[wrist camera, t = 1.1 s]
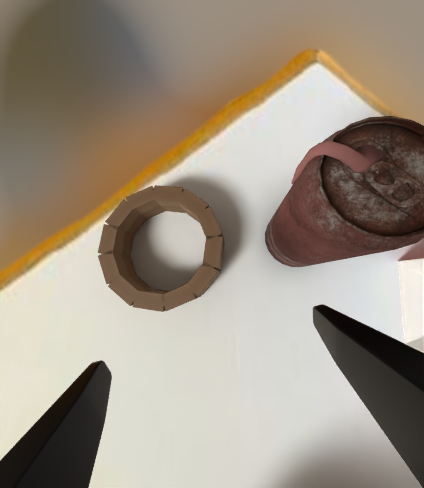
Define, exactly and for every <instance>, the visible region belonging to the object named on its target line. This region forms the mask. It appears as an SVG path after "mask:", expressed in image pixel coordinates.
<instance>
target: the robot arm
mask: <svg viewBox="0 0 424 488" xmlns="http://www.w3.org/2000/svg"><path fill="white" fill-rule="evenodd" d="M313 322H314V326H315V328H316V329H317V331H318V333H319V335H320V336H321V338H322V340H323V342H324V344H325V345H326V347H327V349H328V351H329V352H330V354H331V356H332V358H333V359H334V361H335V363H336V364H337V366H338V367H339V369H340V370H341V371H342V373H343V374H344V376H345V377H346V379H347V380H348V381H349V383H350V384H351V386H352V387H353V389H354V390H355V391H356V393H357V394H358V396H359V397H360V399H361V400H362V401H363V403H364V404H365V406H366V407H367V409H368V410H369V411H370V413H371V414H372V416H373V417H374V419H375V420H376V421H377V423H378V424H379V426H380V427H381V429H382V430H383V431H384V433H385V434H386V436H387V437H388V439H389V440H390V441H391V443H392V444H393V446H394V447H395V449H396V450H397V451H398V453H399V454H400V456H401V457H402V459H403V460H404V461H405V463H406V464H407V466H408V467H409V469H410V470H411V471H412V473H413V474H414V476H415V477H416V479H417V480H418V481H419V483H420V484H421V486H422V487H423V488H424V353H423V352H421V351H419V350H417V349H415V348H412V347H410V346H408V345H406V344H404V343H402V342H400V341H398V340H396V339H394V338H392V337H390V336H388V335H386V334H384V333H381V332H379V331H377V330H375V329H373V328H371V327H369V326H367V325H365V324H363V323H361V322H359V321H357V320H355V319H353V318H350V317H348V316H346V315H344V314H342V313H340V312H338V311H336V310H334V309H332V308H330V307H328V306H326V305H318V306H314V307H313ZM111 379H112V376H111V372H110V370H109V369H108V367H107V366H106V364H105V362H104V361H97V362H93V363H91V364H90V365H89V366H88V367H87V368H86V369H85V371H84V372H83V373H82V374H81V375H80V376H79V377H78V378H77V379H76V380H75V381H74V382H73V383H72V384H71V386H70V387H69V388H68V389H67V390H66V391H65V392H64V393H63V394H62V395H61V396H60V397H59V398H58V399H57V401H56V402H55V403H54V404H53V405H52V406H51V407H50V408H49V409H48V410H47V411H46V412H45V413H44V414H43V416H42V417H41V418H40V419H39V420H38V421H37V422H36V423H35V424H34V425H33V426H32V427H31V428H30V429H29V431H28V432H27V433H26V434H25V435H24V436H23V437H22V438H21V439H20V440H19V441H18V442H17V443H16V444H15V446H14V447H13V448H12V449H11V450H10V451H9V452H8V453H7V454H6V455H5V456H4V457H3V458H2V459H1V461H0V488H88V487H89V483H90V479H91V475H92V471H93V467H94V463H95V459H96V455H97V451H98V447H99V443H100V439H101V435H102V431H103V427H104V422H105V417H106V411H107V405H108V399H109V392H110V386H111Z"/></svg>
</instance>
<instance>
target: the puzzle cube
mask: <svg viewBox="0 0 424 488" xmlns="http://www.w3.org/2000/svg"><path fill="white" fill-rule="evenodd" d="M398 268H399V281H400V294H401V308H402V321H403V334H404V344H406V345H408V346H410V347H412V348H415V349H417V350H419V351H421V352H424V258H420V259H411V260H402V261H398Z"/></svg>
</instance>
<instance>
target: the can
mask: <svg viewBox="0 0 424 488" xmlns="http://www.w3.org/2000/svg"><path fill="white" fill-rule="evenodd" d="M293 183H294V184H293ZM292 184H293V185H292V187H291V189H290V190H289V192H288V193H287V195H286V197H285V198H284V200H283V201H282V203H281V205H280V206H279V208H278V209H277V211H276V213H275V214H274V216H273V217H272V219H271V221H270V222H269V224H268V226H267V229H266V232H265V242H266V245H267V248H268V250H269V252H270V253H271V255H272V256H273V257H274V258H275V259H276V260H278V261H279V262H281V263H282V264H285V265H288V266H291V267H303V266H309V265H314V264H319V263H325V262H330V261H336V260H341V259H347V258H352V257H357V256H363V255H368V254H374V253H379V252H385V251H390V250H395V249H398V248H401V247H405V246H408V245H411V244H414V243H417V242H418V241H420V240H421V239H422V238H424V126H423V125H421V124H419V123H417V122H415V121H412V120H408V119H403V118H398V117H393V116H384V117H369V118H366V119H364V120H361V121H358V122H355V123H352V124H350V125H348V126H347V127H346V128H344V129H342V130H340V131H337V132H335V133H334V134H333V135H331V136H330V137H328V138H327V139H326V140H324V141H323V142H321V143H319V144H317V145H316V146H314V147H313V148H311V149H310V150H309V151H308V153H307V154H306V155H305V157H304V158H303V160H302V161H301V163H300V164H299V165H298V167H297V169H296V171H295V174H294V177H293V180H292Z"/></svg>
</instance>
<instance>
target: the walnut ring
mask: <svg viewBox="0 0 424 488" xmlns="http://www.w3.org/2000/svg"><path fill="white" fill-rule="evenodd" d="M126 199H127V201H125V200H124V199H123V201H122V202H121V203H120V204H119V205H118V207H117V208H116V209H115V210H114V212H113V213H112V214H111V215H110V217H109V218H108V219H107V220H106V221H105V222H106V223H108V224H109V225H105V224H104V227H103V231H102V236H101V241H100V245H99V250H98V253H101V255H99V256H98V258H99V261H100V264H101V267H102V271H103V274H104V277H105V281H106V284H109V286H108V287H109V288H111V289H112V290H113V291H114V292H115V293H116V294H117V295H118V296H120V297H121V298H122V299H123V300H124V301H125V302H126V303H127V304H129V305H130V306H131V305H133V307H136V308H142V309H149V310H155V311H162V312H163V311H165V310H166V311H168V310H170V309H173V308H175V307H177V306H180V305H182V304H184V303H187V302H189V301H191V300H194V299H196V298H198V297H200V296H201V295H203V294H204V293H205V291H206V290H207V289H208V287H209V286H210V285H211V283H212V282H213V281H214V279H215V278H216V277H217V275H218V274H219V273H220V272H219V271H218V270H216V269H220V270H221V265H222V257H223V248H224V240H223V236H222V233H221V230H220V228H219V226H218V224H217V221H216V219H215V217H214V214H213V212H212V210H211V208H210V207H209V205H208V204H207V203H205V202H204V201H202V200H201V199H200V198H198V197H197V196H195V195H194V194H192V193H191V192H190V191H188V190H187V189H183V188H182V187H169V186H156V185H155V187H154V188H153V187H152V186H150V187H148V188H146V189H144V190H141V191H139V192H137V193H135V194H132V195H130V196H128V197H126ZM164 211H172V212H183V213H187V214H188V215H190V216H191V217H192V218H194V219H195V220H196V221H198V222H199V223H200V224H201V226H202V229H203V231H204V233H205V236H206V244H205V251H204V259H203V264H202V265H201V266H200V268H199V269H198V270H197V272H196V273H195V274H194V276H193V277H192V278H191V280H190V281H189V282H188V283H187V284H186V285H184V286H182V287H179V288H177V289H175V290H172V291H170V292H169V291H162V290H155V289H152V288H151V287H149V286H148V285H147V284H146V283H145V282H143V281H142V280H141V279H140V278H139V277H138V276H137V275H136V272H135V269H134V266H133V263H132V260H131V257H130V254H131V248H132V243H133V238H134V235H135V234H136V232H137V231H138V230H139V229H140V227H141V226H142V225H143V224H144V222H145V221H146V220H147V219H149V218H151V217H153V216H155V215H158V214H160V213H162V212H164Z"/></svg>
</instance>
